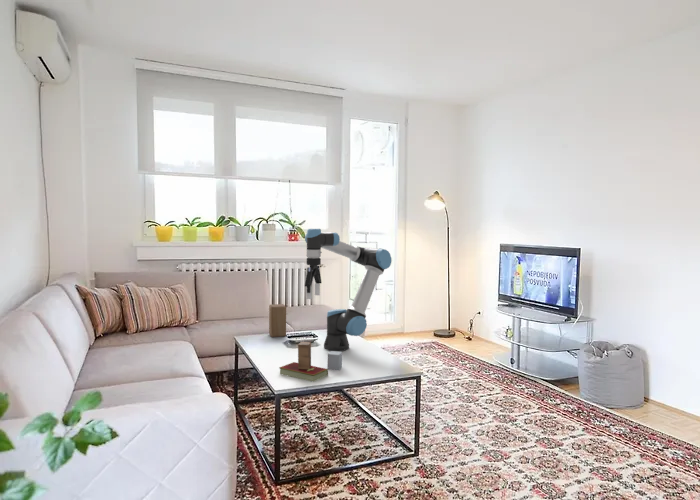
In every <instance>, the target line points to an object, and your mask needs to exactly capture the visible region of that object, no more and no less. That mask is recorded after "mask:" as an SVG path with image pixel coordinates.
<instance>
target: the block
mask: <svg viewBox="0 0 700 500" xmlns="http://www.w3.org/2000/svg"><path fill="white" fill-rule="evenodd" d="M268 309H269V310H268V317H269V318H268V333H269V336H270V337H271V338H279V337H280V338H281V337H286V336H287V306H286V305H285V304H284V303H280V304H279V303H277V304H273V303H272V304H269V307H268Z"/></svg>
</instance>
